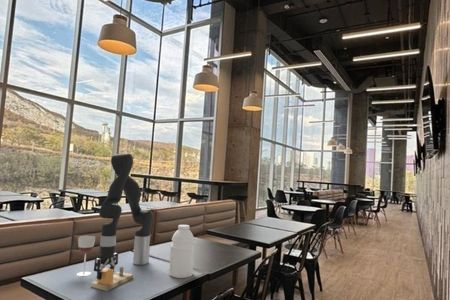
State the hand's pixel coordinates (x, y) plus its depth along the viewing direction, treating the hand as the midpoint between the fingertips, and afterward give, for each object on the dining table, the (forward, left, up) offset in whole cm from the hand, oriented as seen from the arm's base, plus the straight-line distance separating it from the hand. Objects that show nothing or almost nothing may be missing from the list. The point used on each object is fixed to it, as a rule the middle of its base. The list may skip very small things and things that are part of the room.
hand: (105, 276), depth 155 cm
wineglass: (-8, -22, -5) cm, 24 cm away
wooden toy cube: (0, 0, -3) cm, 3 cm away
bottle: (-35, +24, -5) cm, 43 cm away
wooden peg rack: (-6, 0, -5) cm, 8 cm away
